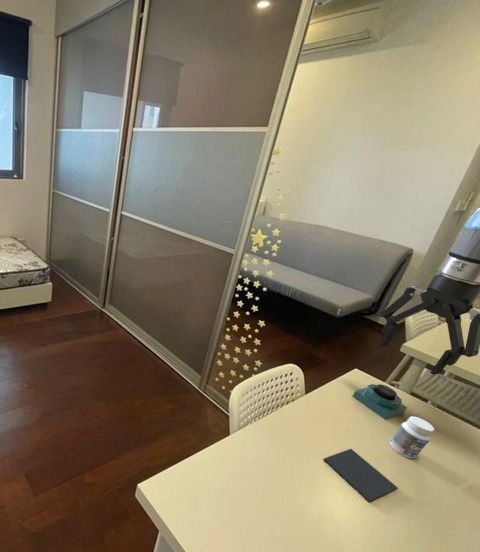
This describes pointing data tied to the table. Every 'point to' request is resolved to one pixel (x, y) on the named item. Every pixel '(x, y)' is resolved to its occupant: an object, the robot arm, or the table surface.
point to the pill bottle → (411, 437)
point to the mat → (360, 475)
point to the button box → (379, 402)
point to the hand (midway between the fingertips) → (407, 358)
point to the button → (385, 392)
